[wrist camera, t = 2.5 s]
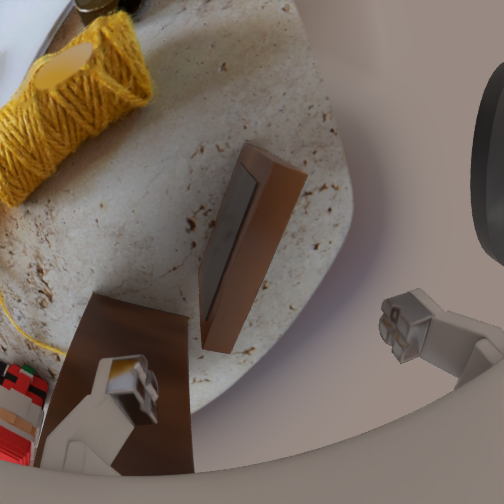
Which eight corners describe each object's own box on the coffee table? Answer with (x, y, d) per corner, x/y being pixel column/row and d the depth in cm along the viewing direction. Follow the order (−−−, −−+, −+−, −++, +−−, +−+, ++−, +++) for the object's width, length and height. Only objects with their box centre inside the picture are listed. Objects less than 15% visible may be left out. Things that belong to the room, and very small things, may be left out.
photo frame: (268, 150, 19) (311, 175, 12) (219, 279, 23) (232, 354, 16) (242, 141, 19) (271, 160, 12) (196, 273, 22) (199, 349, 15)
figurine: (-1, 347, 22) (-42, 435, 12) (54, 378, 25) (27, 474, 14) (-1, 387, 24) (-29, 462, 14) (46, 412, 27) (27, 492, 17)
